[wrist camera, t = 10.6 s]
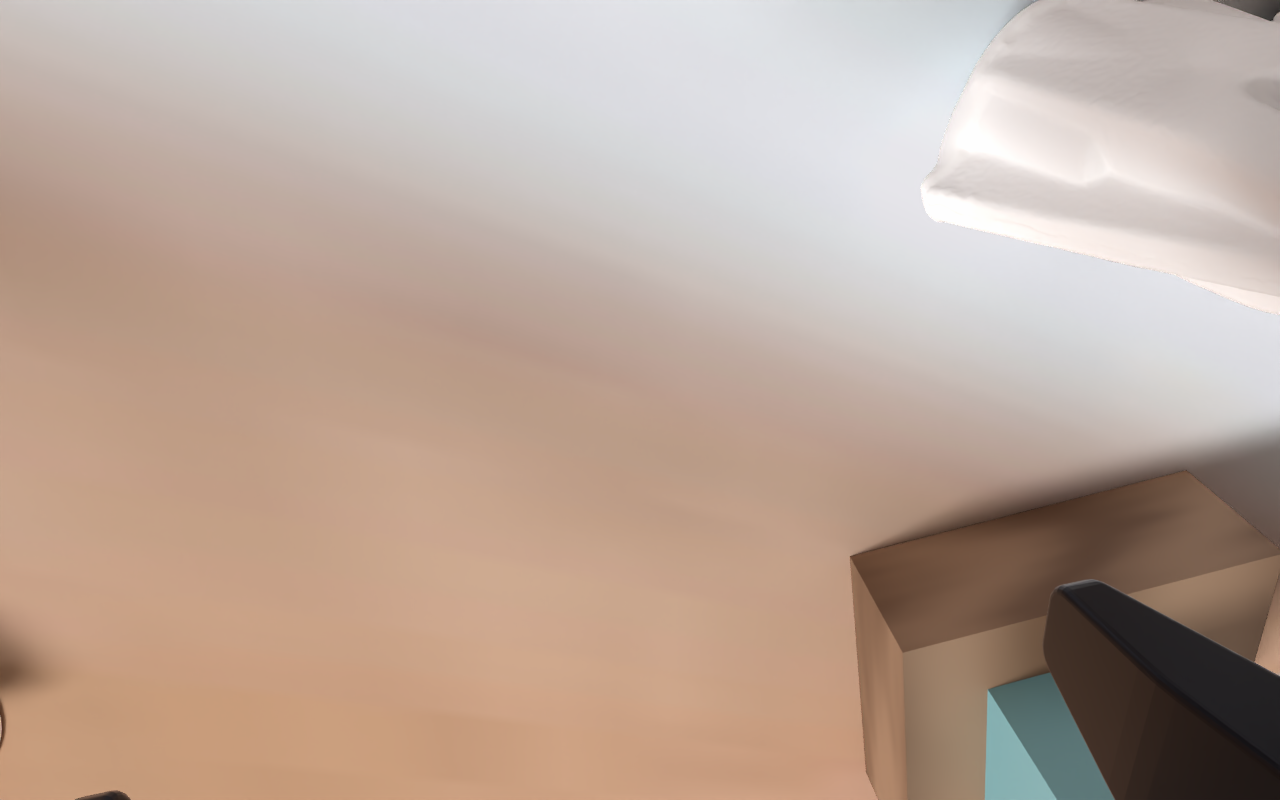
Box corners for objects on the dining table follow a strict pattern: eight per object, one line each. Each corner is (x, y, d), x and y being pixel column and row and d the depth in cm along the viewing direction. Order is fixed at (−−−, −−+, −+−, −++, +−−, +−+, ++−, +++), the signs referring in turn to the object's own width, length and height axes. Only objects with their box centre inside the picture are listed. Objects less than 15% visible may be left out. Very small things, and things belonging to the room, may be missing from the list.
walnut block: (1177, 462, 25) (1285, 553, 22) (1136, 688, 31) (1217, 789, 27) (844, 547, 25) (902, 653, 22) (861, 761, 30) (910, 872, 27)
